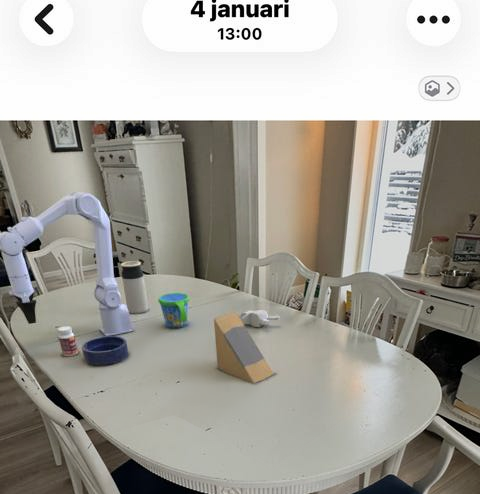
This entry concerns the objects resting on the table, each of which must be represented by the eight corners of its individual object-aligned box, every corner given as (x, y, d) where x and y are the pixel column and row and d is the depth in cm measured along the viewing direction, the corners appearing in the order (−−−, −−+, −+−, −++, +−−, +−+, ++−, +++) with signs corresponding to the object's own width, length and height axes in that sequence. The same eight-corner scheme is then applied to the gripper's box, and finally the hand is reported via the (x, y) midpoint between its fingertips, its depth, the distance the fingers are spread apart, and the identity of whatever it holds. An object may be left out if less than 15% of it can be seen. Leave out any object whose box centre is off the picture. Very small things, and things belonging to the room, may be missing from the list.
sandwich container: (254, 384, 126) (252, 330, 118) (216, 368, 136) (213, 318, 128) (275, 373, 131) (275, 321, 123) (237, 359, 141) (235, 310, 133)
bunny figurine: (251, 306, 171) (282, 309, 161) (252, 320, 173) (283, 324, 163) (232, 313, 165) (263, 316, 155) (234, 327, 168) (265, 331, 158)
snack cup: (197, 329, 164) (194, 300, 159) (168, 334, 161) (164, 305, 155) (184, 316, 176) (181, 289, 171) (157, 321, 173) (153, 293, 168)
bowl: (121, 346, 153) (118, 333, 151) (134, 359, 143) (132, 345, 141) (80, 355, 148) (77, 341, 146) (91, 370, 138) (87, 355, 136)
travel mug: (152, 309, 186) (145, 262, 176) (138, 315, 180) (131, 266, 170) (137, 306, 189) (130, 260, 180) (123, 312, 184) (115, 264, 174)
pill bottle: (75, 356, 148) (69, 330, 143) (60, 356, 148) (54, 331, 143) (80, 350, 152) (74, 325, 147) (65, 351, 152) (59, 325, 147)
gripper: (3, 272, 145) (16, 315, 152) (5, 282, 134) (19, 328, 141) (27, 269, 147) (39, 311, 155) (31, 279, 136) (43, 324, 143)
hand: (31, 319), depth 148 cm, fingers open, 7 cm apart
